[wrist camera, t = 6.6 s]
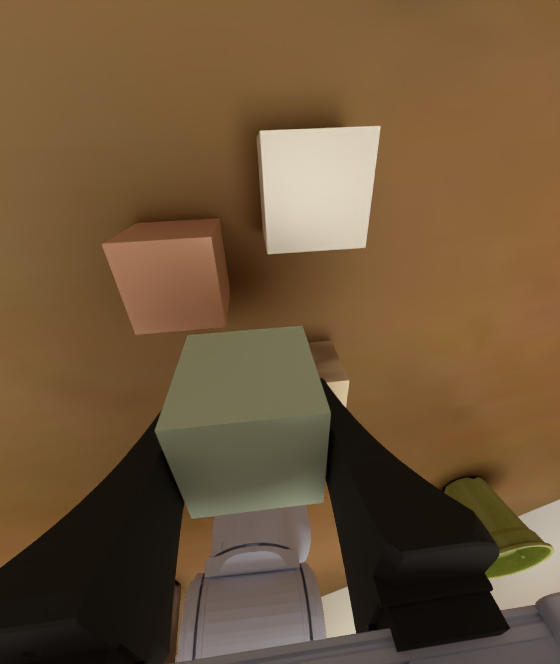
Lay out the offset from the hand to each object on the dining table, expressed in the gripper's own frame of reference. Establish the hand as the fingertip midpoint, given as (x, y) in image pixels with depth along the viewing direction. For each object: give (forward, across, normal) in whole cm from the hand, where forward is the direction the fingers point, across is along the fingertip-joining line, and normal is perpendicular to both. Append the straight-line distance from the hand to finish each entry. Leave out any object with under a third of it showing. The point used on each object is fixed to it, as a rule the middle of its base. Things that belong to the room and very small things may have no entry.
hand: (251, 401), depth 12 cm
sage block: (+2, 0, 0) cm, 2 cm away
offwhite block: (+10, -4, -7) cm, 13 cm away
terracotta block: (+10, +4, -3) cm, 11 cm away
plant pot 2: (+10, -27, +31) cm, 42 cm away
